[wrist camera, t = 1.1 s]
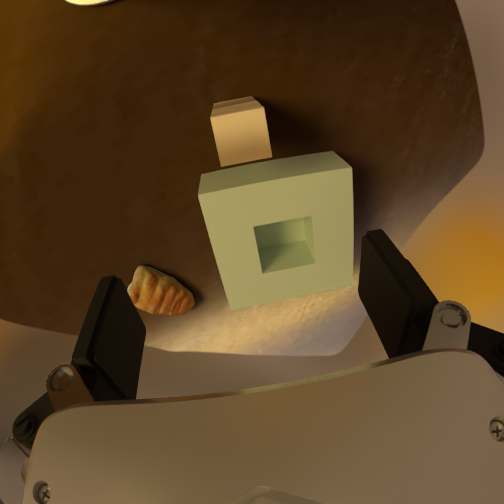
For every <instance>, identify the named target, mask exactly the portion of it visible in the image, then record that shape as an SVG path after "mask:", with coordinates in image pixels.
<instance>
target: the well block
mask: <svg viewBox="0 0 504 504" xmlns="http://www.w3.org/2000/svg"><path fill="white" fill-rule="evenodd" d="M198 197H199V201H200V205H201V208H202V212H203V216H204V219H205V223H206V226H207V230H208V234H209V237H210V241H211V244H212V248H213V251H214V255H215V258H216V262H217V265H218V268H219V272H220V275H221V279H222V282H223V285H224V289H225V292H226V295H227V299H228V302H229V305H230V309H231V310H234V309H240V308H245V307H251V306H256V305H262V304H267V303H272V302H277V301H282V300H287V299H292V298H297V297H302V296H307V295H312V294H316V293H321V292H326V291H330V290H335V289H339V288H344V287H348V286H353V251H354V216H353V179H352V167H351V166H350V165H349V164H348V163H346V162H345V161H344V160H343V159H342V158H341V157H339V156H338V155H337V154H336V153H335V152H334V151H328V152H321V153H314V154H307V155H301V156H294V157H288V158H282V159H276V160H271V161H265V162H260V163H254V164H249V165H244V166H239V167H234V168H229V169H224V170H219V171H214V172H210V173H205V174H201V180H200V186H199V191H198Z"/></svg>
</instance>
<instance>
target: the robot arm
mask: <svg viewBox="0 0 504 504" xmlns="http://www.w3.org/2000/svg"><path fill="white" fill-rule="evenodd" d="M65 1H67V2H69V3H71V4H75V5H79V6H97V5H103V4H106V3H109V2H112V1H115V0H65ZM358 293H359V297H360V299H361V301H362V303H363V305H364V307H365V309H366V311H367V313H368V315H369V317H370V319H371V321H372V323H373V325H374V327H375V329H376V331H377V334H378V336H379V338H380V340H381V342H382V344H383V346H384V348H385V351H386V353H387V355H388V357H389V359H387V360H383V361H379V362H375V363H371V364H367V365H364V366H359V367H356V368H351V369H347V370H343V371H339V372H334V373H330V374H326V375H321V376H317V377H312V378H307V379H302V380H297V381H291V382H286V383H280V384H275V385H269V386H263V387H257V388H250V389H243V390H235V391H228V392H221V393H211V394H202V395H192V396H181V397H168V398H153V399H137V400H136V394H137V387H138V379H139V373H140V366H141V360H142V353H143V348H144V342H145V336H146V328H145V325H144V323H143V321H142V319H141V317H140V315H139V313H138V312H137V310H136V308H135V306H134V304H133V302H132V300H131V298H130V296H129V294H128V292H127V290H126V288H125V285H124V283H123V281H122V280H121V279H120V278H119V279H118V278H117V277H116V276H108V277H103V278H101V280H100V282H99V284H98V287H97V289H96V292H95V294H94V297H93V299H92V302H91V304H90V307H89V310H88V312H87V315H86V318H85V320H84V323H83V326H82V329H81V332H80V334H79V337H78V340H77V343H76V346H75V349H74V352H73V355H72V361H71V364H61V365H58V366H57V367H55V368H54V369H53V370H52V371H51V372H50V373H49V375H48V377H47V379H46V390H47V392H46V393H45V394H44V395H43V396H42V397H40V398H39V399H38V400H37V401H35V402H34V403H33V404H32V405H31V406H29V407H28V408H27V409H26V410H24V411H23V412H22V413H21V414H20V415H19V416H18V417H17V418H16V420H15V422H14V424H13V436H14V437H13V438H10V437H9V438H8V440H7V441H6V442H5V444H4V445H3V447H2V448H1V450H0V499H1V500H2V501H3V503H4V504H504V334H503V333H501V332H498V331H495V330H492V329H489V328H487V327H484V326H481V325H478V324H476V323H473V322H471V316H470V313H469V311H468V310H467V309H466V308H465V307H464V306H463V305H462V304H460V303H458V302H455V301H450V300H448V301H442V302H440V303H439V302H438V300H437V299H436V297H435V296H434V294H433V293H432V292H431V290H430V289H429V287H428V286H427V285H426V283H425V282H424V281H423V279H422V278H421V277H420V275H419V274H418V272H417V271H416V270H415V268H414V267H413V266H412V264H411V263H410V262H409V261H408V260H407V259H405V258H404V257H403V255H402V254H401V253H400V251H399V250H398V249H397V248H396V246H395V245H394V244H393V242H392V241H391V240H390V239H389V237H388V236H387V235H386V234H385V232H384V231H383V230H382V229H378V230H372V231H368V232H367V233H366V236H363V237H362V249H361V262H360V274H359V285H358Z"/></svg>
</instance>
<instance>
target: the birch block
mask: <svg viewBox="0 0 504 504" xmlns="http://www.w3.org/2000/svg"><path fill="white" fill-rule="evenodd" d="M211 123H212V127H213V132H214V136H215V141H216V145H217V150H218V154H219V159H220V163H221V167H223V166H228V165H232V164H237V163H243V162H248V161H253V160H258V159H264V158H269V157H272V153H271V147H270V141H269V135H268V129H267V123H266V117H265V111H264V107H263V106H262V105H261V104H260V103H259V102H258V101H257V100H255V99H254V98H253V97H252V96H251V97H245V98H239V99H234V100H229V101H224V102H219V103H214V105H213V109H212V113H211Z"/></svg>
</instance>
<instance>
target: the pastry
mask: <svg viewBox="0 0 504 504" xmlns="http://www.w3.org/2000/svg"><path fill="white" fill-rule="evenodd" d="M127 292H128V294H129V296H130V298H131V300H132V302H133V304H134V306H136V307H137V308H139V309H141V310H144V311H147V312H149V313H151V314H167V315H183V314H185V313H187V312H188V311H189V310H190V309H191V308H192V307H193V306H194V305H195V300H194V298H193V295H192V293H191V292H190V291H189V290H188V289H186V288H185V287H183V286H182V285H181V284H180V283H179V282H178V281H177V280H176V279H175V278H174V277H172V276H168V275H167V274H164V273H162V272H160V271H159V270H156V269H154V268H151V267H148V266H138V267H137V269H136V271H135V273H134V277H133V282H132V283H131V284H130V285H129V286H128V290H127Z"/></svg>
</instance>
